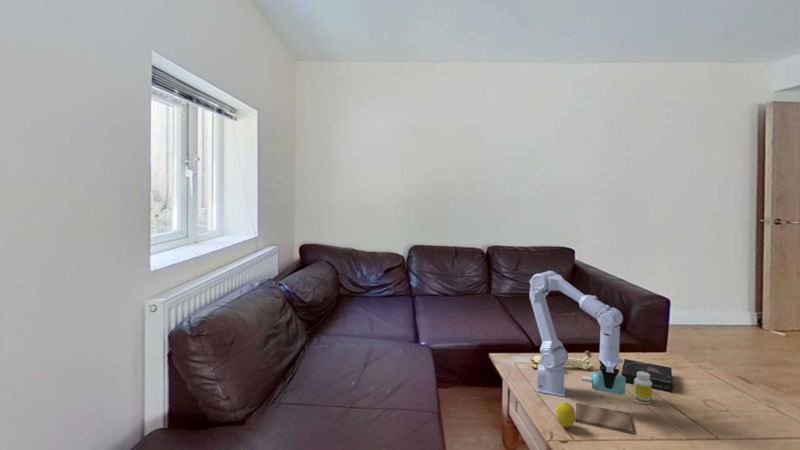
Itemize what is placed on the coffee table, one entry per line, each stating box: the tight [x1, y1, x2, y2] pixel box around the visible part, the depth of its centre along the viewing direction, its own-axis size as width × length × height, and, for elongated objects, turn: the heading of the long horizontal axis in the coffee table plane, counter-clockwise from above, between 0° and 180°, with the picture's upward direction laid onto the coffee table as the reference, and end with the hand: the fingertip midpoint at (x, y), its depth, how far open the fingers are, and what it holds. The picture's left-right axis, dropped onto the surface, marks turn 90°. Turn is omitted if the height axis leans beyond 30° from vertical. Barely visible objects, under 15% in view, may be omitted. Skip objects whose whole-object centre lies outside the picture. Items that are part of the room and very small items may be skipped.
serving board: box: [574, 402, 634, 435], centre depth 131 cm, size 16×11×1 cm
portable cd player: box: [621, 358, 674, 394], centre depth 160 cm, size 16×17×4 cm
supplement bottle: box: [633, 371, 653, 405], centre depth 143 cm, size 5×5×10 cm
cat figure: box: [529, 350, 595, 372], centre depth 170 cm, size 10×9×25 cm
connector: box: [581, 370, 627, 396], centre depth 136 cm, size 13×4×5 cm, turn 66°
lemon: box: [555, 401, 576, 429], centre depth 127 cm, size 6×6×8 cm
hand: (608, 385), depth 136 cm, fingers closed on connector, 4 cm apart
